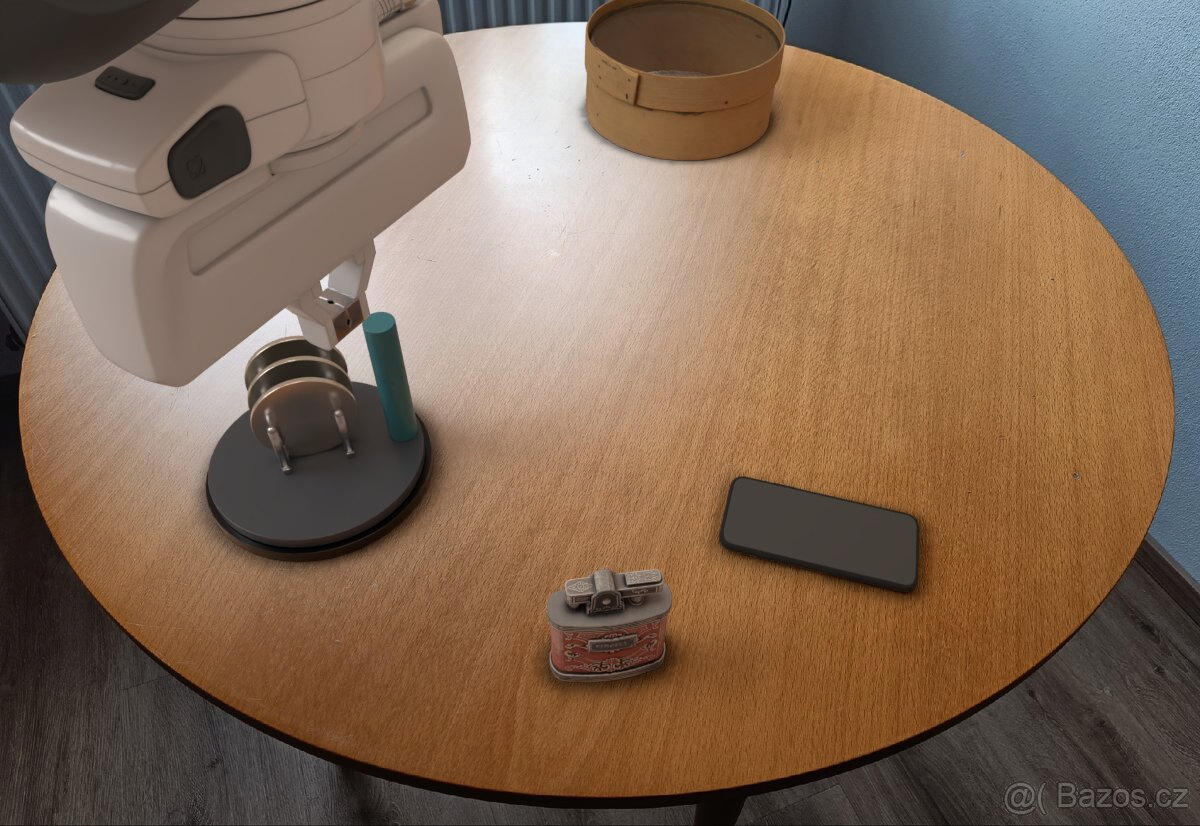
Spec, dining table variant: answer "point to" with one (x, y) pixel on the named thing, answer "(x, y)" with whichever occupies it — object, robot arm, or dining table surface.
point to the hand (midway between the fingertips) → (338, 330)
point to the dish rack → (319, 443)
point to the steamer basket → (682, 104)
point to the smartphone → (821, 533)
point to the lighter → (608, 625)
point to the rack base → (340, 546)
